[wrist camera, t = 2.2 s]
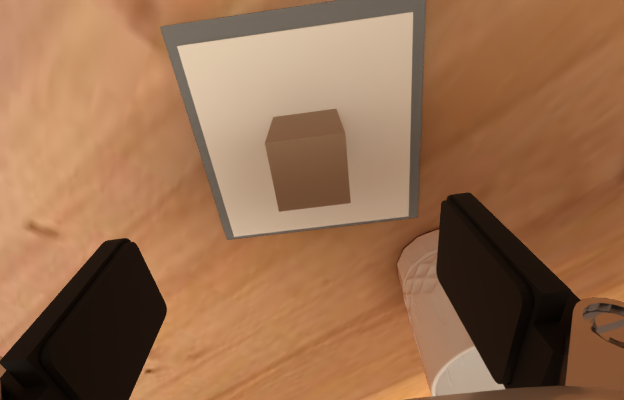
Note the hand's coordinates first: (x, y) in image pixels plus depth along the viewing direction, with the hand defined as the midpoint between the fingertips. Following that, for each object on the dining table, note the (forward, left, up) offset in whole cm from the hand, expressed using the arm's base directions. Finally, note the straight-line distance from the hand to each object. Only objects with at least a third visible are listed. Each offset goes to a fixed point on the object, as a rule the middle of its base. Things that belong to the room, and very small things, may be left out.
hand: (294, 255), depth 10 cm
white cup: (-10, +12, -12) cm, 20 cm away
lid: (-1, 0, -12) cm, 12 cm away
